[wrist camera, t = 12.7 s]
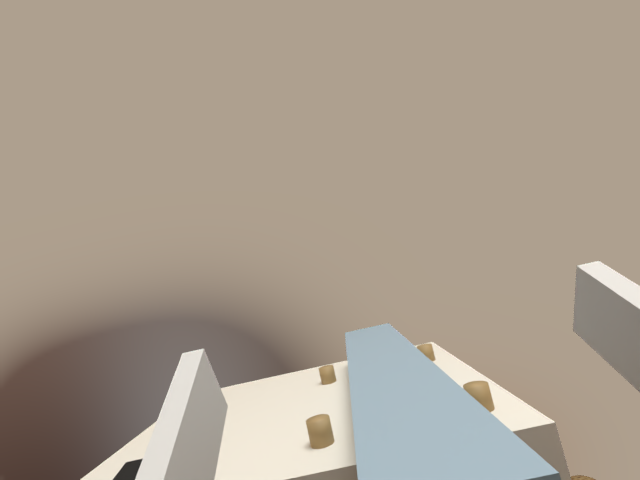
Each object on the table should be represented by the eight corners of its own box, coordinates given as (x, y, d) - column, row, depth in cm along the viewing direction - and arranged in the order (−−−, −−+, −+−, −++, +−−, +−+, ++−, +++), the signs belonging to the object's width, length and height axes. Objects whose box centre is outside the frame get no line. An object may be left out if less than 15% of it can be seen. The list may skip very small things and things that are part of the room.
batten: (603, 636, 7) (559, 472, 8) (396, 678, 8) (360, 513, 8) (396, 356, 35) (388, 323, 36) (352, 366, 35) (345, 332, 36)
